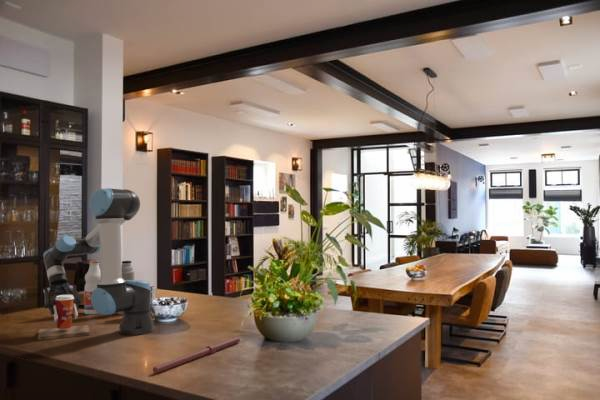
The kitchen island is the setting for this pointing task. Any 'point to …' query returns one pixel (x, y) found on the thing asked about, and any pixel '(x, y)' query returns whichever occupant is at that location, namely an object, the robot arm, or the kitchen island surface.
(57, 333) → the walnut board
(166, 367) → the brown thin rod
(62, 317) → the paper cup
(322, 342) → the kitchen island surface
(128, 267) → the thermos bottle
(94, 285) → the fruit juice
